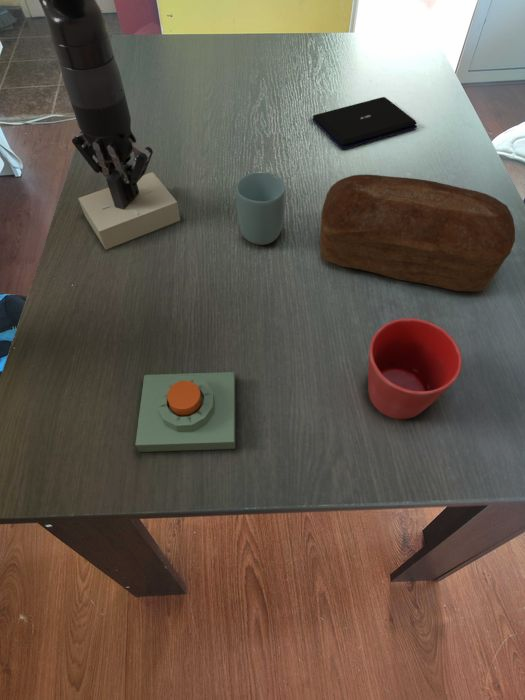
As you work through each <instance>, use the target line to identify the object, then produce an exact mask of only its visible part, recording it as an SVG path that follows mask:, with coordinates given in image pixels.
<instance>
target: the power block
mask: <svg viewBox="0 0 525 700" xmlns="http://www.w3.org/2000/svg"><path fill="white" fill-rule="evenodd" d="M235 373H236V372H235V371H227V372H226V371H225V372H224V371H223V372H195V373H194V372H190V373H189V372H188V373H160V374H144V375H143V380H142V381H143V382H142V388H141V389H142V391H141V397H140V404H139V405H140V406H139V413H138V421H137V429H136V436H135V444H134V445H135V447H136V449H137V451H138V452H139V453H149V452H150V453H151V452H153V453H154V452H177V451H179V452H182V451H208V450H209V451H210V450H235V449H236V374H235ZM180 381H191V382H193V383H195V384H196V385H197V386H198V387H199V389H200V393H201V398H202V403H201V406H200V408H199V409H198V410H197V411H196V412H195V413H193V414H191V415H187V416H181V415H178V414H176V413H174V412H173V411H172V410H171V408H170V405H169V402H168V399H167V394H168V391H169V389H170V388H171V386H173V385H174V384H175V383H177V382H180Z"/></svg>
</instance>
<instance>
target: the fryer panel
mask: <svg viewBox="0 0 525 700" xmlns="http://www.w3.org/2000/svg"><path fill="white" fill-rule="evenodd" d="M137 186H138V190H139V194H138V195H137V197H136V198H135V199H134V200H133V201H131V202H130V204H129V205H128V206H127V207H126V208H125V209H120V208H116V207H115V205H114V202H113V199H112V196H111V193H110V190H109V187H108V186H107V187H106V188H103V189H100V190H97V191H94V192H91V193H89V194H86V195H83V196H80V197H78V198H77V199H78V202H79V205H80V207H81V209H82V213H83V214H84V217H85V218H86V220H87V222H88V223H89V225H90V227H91V228H92V230H93V232H94V233H95V236H97V238H98V240H99V241H100V243H101V245H102V246H103V248H104V249H105V250H106V251H107V250H109V249H112V248H114V247H117V246H119V245H122V244H124V243H127V242H129V241H132V240H135V239H137V238H140V237H142V236H144V235H148V234H150V233H152V232H155V231H158V230H160V229H162V228H165V227H167V226H170V225H172V224H175V223H178V222H180V221H181V216H180V210H179V205H178V201H177V200H176V199H175V198H174V196H173V195H172V194H171V193H170V191H169V190H168V189H167V187H166V186H165V185H164V184H163V182H162V181H161V180H160V179H159V177H158V176H157V175H156V174H155V172H154V171H152V172H149V173H145V174H144V175H143V176H142V177H141V178H140V180H139V181H138V182H137Z"/></svg>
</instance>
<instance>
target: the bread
mask: <svg viewBox="0 0 525 700" xmlns="http://www.w3.org/2000/svg"><path fill="white" fill-rule="evenodd" d="M319 234H320V235H319V241H320V252H321V257H322V258H323V259H324V260H325V261H326V262H328V263H332V264H335V265H337V266H341V267H344V268H348V269H349V268H350V269H355V270H361V271H365V272H369V273H374V274H377V275H381V276H384V277H389V278H392V279H396V280H401V281H405V282H412V283H418V284H423V285H424V284H425V285H428V286H432V287H433V286H434V287H438V288H442V289H446V290H449V291H450V290H451V291H455V292H456V291H457V292H483V290H484V289H486V288H487V287H488V286H489V284H490V283H491V281H492V280H493V278H494V277H495V276H496V274H497V273H498V271H499V270H500V268H501V267H502V265H503V263H504V262H505V260H506V259H507V258H508V257H509V255H511V252H512V249H513V247H514V245H515V243H516V227H515V222H514V217H513V215H512V212H511V210H510V209H509V207H508V205H507V204H505V203H503V202H501V201H500V200H499V199H497V198H496V197H494V196H492V195H489V194H487V193H484V192H481V191H478V190H477V191H476V190H472V189H469V188H468V189H467V188H464V187H460V186H454V185H451V184H446V183H442V182H438V181H433V180H427V179H419V178H411V177H401V176H390V175H389V176H387V175H378V174H354V175H350V176H347V177H344V178H342V179H340V180H338V181H336V182H335V183H334V184H333V185H331V186H330V188H329V190H328V191H327V193H326V196H325V198H324V202H323V205H322V210H321V217H320V233H319Z"/></svg>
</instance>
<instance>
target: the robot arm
mask: <svg viewBox="0 0 525 700" xmlns="http://www.w3.org/2000/svg"><path fill="white" fill-rule="evenodd" d="M38 2H39V4H40V7H41V8H42V12H43V14H44V17H45V21H46V24H47V29H48V33H49V36H50V39H51V41H52V44H53V48H54V51H55V54H56V56H57V60H58V63H59V67H60V71H61V76H62V80H63V83H64V86H65V90H66V93H67V96H68V98H69V102H70V104H71V108H72V111H73V113H74V116H75V120H76V121H77V125H78V128H79V129H80V132H78V133H77V134H76V135H75V136H74V137H73V138H72V139H71V143H72V144H73V146H74V147H75V148H76V150H77V151H78V152H79V154H80V155H81V157H83V159H84V160H85V161H86V163H87V164H88V165H89V166H90V168H91V169H92V170H93V172H94V173H96V174H99V173H101V174H102V175H103V177H104V178H105V179H107V177H108V176H109V175H110V174H111V173H112V172H113V171H114V170H115V169H116V170H117V171H119V173H120V176H121V179H122V181H123V187H124V190H125V194H126V197H127V200H128V201H133V200H134V199H135V198H136V197H137V195H138V194H139V190H138V186H137V182H138V181H139V180H140V178H141V177H142V176H143V175H146V171H147V169H148V167H149V164H150V161H151V158H152V156H153V153H154V150H153V149H152V148H151V147H150V146H146V147H145V148H144V147H142V146H141V145H140V144H139V143H137V138H136V137H135V135H134V134H133V131H132V128H131V127H132V126H131V125H132V118H131V113H130V109H129V105H128V101H127V97H126V93H125V89H124V85H123V80H122V75H121V71H120V68H119V66H118V63H117V60H116V58H115V54H114V51H113V46H112V42H111V38H110V34H109V29H108V26H107V22H106V19H105V16H104V14H103V12H102V9H101V7H100V6H99V4H98V2H97V0H38ZM94 157H95V158H94ZM95 159H96V160H97V161H96V160H95ZM134 162H135V163H134ZM127 171H128V172H127Z"/></svg>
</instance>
